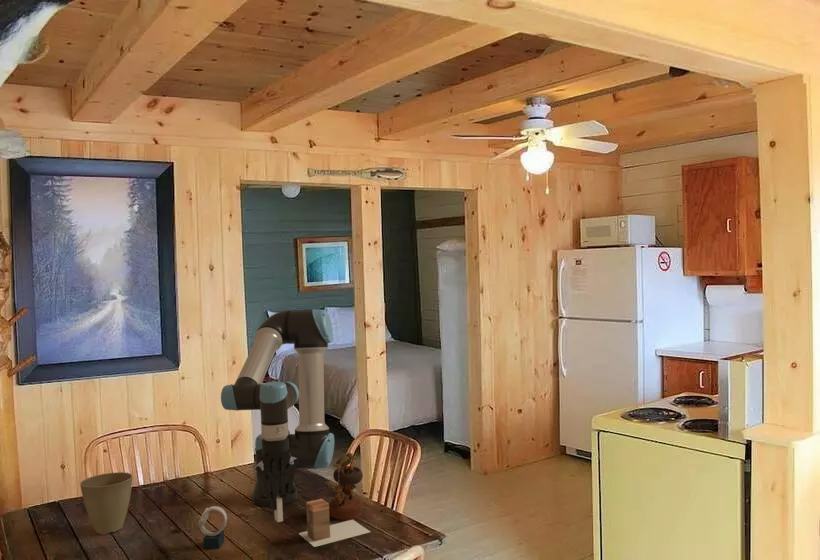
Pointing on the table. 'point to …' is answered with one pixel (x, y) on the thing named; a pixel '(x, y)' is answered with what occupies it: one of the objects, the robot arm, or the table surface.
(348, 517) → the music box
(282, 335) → the robot arm
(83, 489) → the plant pot
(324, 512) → the walnut block
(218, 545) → the watch
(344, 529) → the mat
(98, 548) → the table surface
